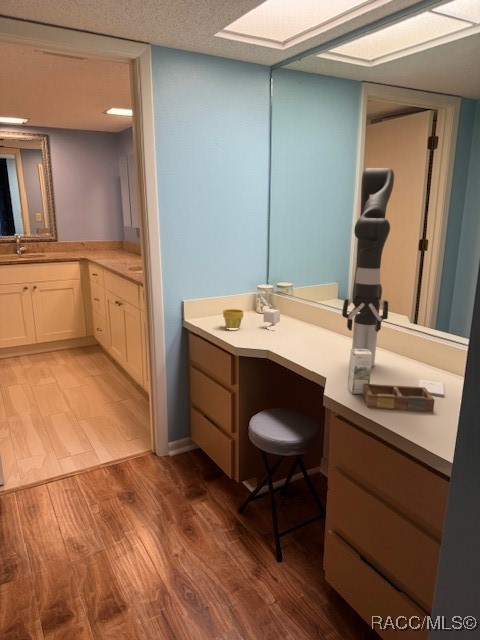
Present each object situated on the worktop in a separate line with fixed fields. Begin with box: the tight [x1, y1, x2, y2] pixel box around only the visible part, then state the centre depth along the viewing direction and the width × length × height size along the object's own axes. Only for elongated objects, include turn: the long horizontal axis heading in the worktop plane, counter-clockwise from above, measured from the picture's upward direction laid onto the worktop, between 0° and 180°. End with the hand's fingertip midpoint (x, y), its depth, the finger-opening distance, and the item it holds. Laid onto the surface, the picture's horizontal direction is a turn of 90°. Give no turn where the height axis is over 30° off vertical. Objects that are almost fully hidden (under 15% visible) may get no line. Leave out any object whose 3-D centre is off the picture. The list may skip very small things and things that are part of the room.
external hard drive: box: [418, 379, 446, 398], centre depth 157 cm, size 2×8×12 cm
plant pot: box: [222, 308, 244, 329], centre depth 234 cm, size 10×10×10 cm
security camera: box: [263, 308, 281, 327], centre depth 236 cm, size 6×7×10 cm
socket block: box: [362, 383, 436, 413], centre depth 144 cm, size 11×20×4 cm, turn 83°
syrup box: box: [347, 348, 372, 395], centre depth 152 cm, size 6×6×14 cm
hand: (363, 330), depth 149 cm, fingers open, 8 cm apart
